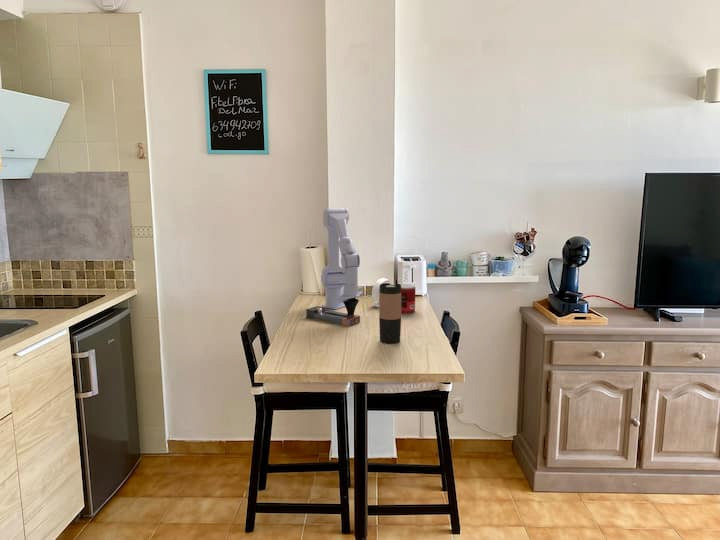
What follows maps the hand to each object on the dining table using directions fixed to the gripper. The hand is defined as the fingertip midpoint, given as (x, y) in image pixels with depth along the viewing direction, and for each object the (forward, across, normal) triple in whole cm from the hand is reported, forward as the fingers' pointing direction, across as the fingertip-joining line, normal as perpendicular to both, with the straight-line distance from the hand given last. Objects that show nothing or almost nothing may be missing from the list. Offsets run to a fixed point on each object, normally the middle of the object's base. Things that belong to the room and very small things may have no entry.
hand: (350, 316), depth 223 cm
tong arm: (+1, -2, +3) cm, 4 cm away
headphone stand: (+2, +27, +4) cm, 27 cm away
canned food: (+2, +26, -10) cm, 28 cm away
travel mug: (+2, -14, -28) cm, 31 cm away
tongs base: (+1, -4, +6) cm, 7 cm away
